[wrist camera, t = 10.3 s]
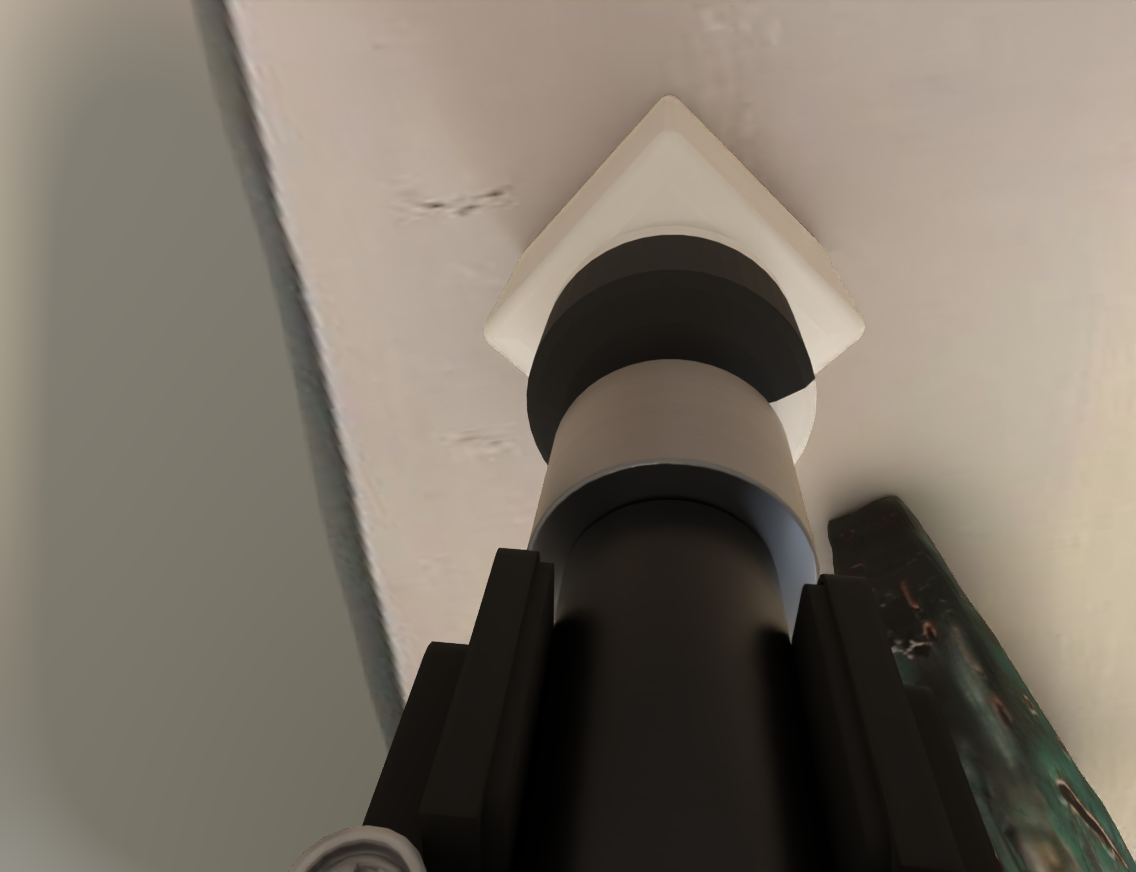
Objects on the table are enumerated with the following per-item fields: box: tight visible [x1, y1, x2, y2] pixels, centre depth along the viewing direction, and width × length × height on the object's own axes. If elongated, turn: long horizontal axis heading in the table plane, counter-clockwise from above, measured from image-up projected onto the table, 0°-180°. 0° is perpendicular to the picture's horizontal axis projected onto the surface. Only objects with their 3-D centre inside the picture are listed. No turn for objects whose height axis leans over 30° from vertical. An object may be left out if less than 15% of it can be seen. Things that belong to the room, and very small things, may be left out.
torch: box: [511, 359, 833, 872], centre depth 11 cm, size 4×4×10 cm
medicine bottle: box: [483, 95, 865, 466], centre depth 22 cm, size 7×7×12 cm
